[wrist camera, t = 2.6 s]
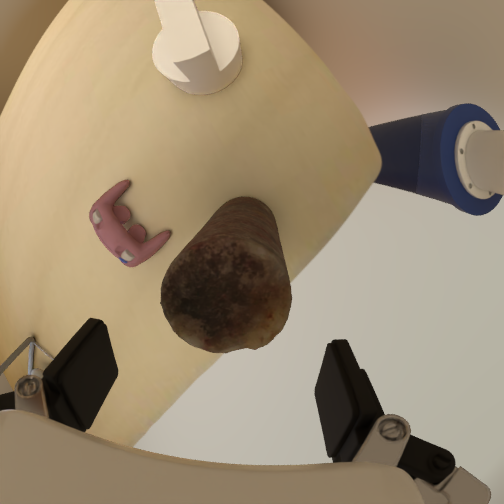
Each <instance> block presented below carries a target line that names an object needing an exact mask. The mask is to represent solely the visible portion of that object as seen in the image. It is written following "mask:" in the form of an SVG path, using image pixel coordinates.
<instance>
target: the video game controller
mask: <svg viewBox="0 0 504 504" xmlns="http://www.w3.org/2000/svg"><path fill="white" fill-rule="evenodd" d="M129 184H130V182H129V180H124V181H121V182H119V183H117V184H116V185H115V186H113V187H112V188H111V189H109V190H108V191H107V192H105V193H104V194H103V195H102V196H101V197H100V198H99V199H98V200H97V201H96V202H95V203H94V204H93V206H92V208H91V210H90V213H89V218H90V221H91V223H92V224H93V227H94V230H95V232H96V234H97V236H98V237H99V239H100V240H101V242H102V243H103V244H104V246H105V247H106V248H107V249H108V250H109V251H110V252H111V253H112V254H113V255H114V256H116V257H117V258H118V259H120V260H121V262H122V263H123V264H124V265H126V266H128V267H135V266H137V265H139V264H141V263H142V262H144V261H146V260H147V259H149V258H150V257H151V256H153V255H154V254H155V253H156V252H157V251H158V250H159V249H160V248H161V247H162V246H163V245H164V244H165V242H166V241H167V240H168V239H169V237H170V231H164V232H162V233H160V234H158V235H157V236H155V237H154V238H152V239H151V240H149V241H147V242H145V243H144V238H145V235H146V232H145V230H144V228H143V227H142V226H140V225H137V224H135V225H133V226H132V227H131V228H130V229H129V230H128V231H127V230H126V229H125V228H124V226H123V224H125V223H126V222H127V221H128V220H129V218H130V211H129V210H128V208H127V207H125V206H114V204H115V202H116V200H117V199H118V198H119V197H120V196H121V195H122V194H123V193H124V191H125V190H126V189H127V188H128V186H129Z"/></svg>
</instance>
